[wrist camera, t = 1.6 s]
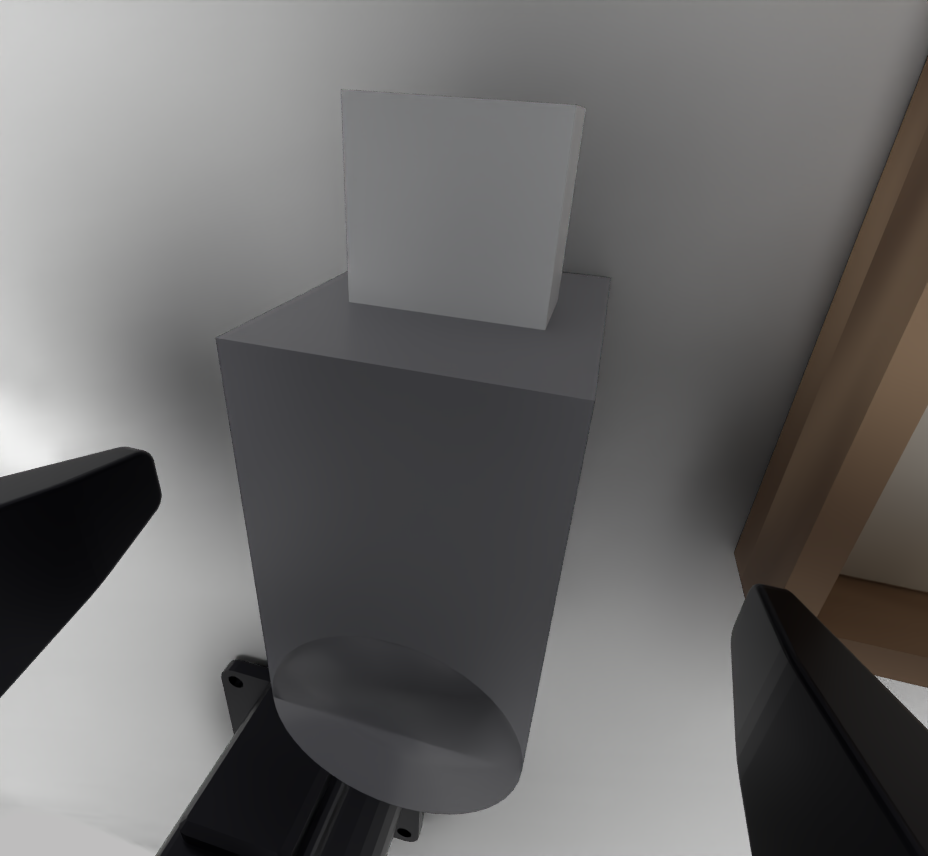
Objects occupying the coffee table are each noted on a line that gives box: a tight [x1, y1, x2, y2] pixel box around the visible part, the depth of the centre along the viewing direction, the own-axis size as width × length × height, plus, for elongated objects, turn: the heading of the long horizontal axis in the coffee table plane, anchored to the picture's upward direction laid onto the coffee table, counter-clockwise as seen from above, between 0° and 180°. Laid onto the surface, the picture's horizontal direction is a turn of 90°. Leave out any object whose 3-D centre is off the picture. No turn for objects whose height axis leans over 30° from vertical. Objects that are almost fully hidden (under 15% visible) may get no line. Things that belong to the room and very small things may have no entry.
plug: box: [216, 89, 611, 814], centre depth 9 cm, size 10×4×5 cm, turn 176°
